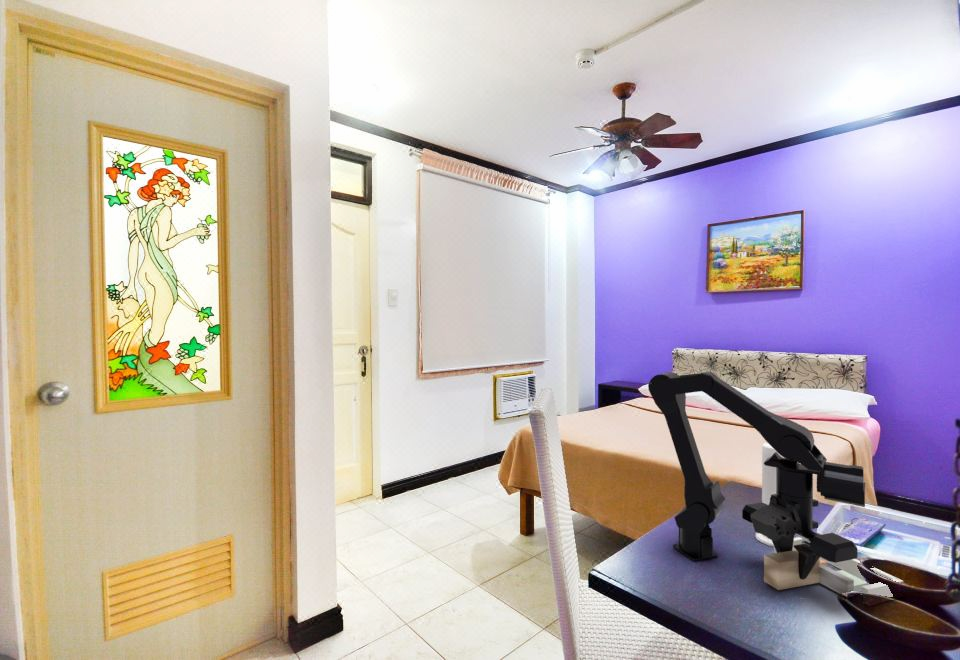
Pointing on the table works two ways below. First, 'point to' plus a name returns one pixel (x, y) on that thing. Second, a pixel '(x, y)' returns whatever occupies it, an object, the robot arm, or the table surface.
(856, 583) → the tile sage
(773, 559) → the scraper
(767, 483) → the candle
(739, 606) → the table surface
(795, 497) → the robot arm
